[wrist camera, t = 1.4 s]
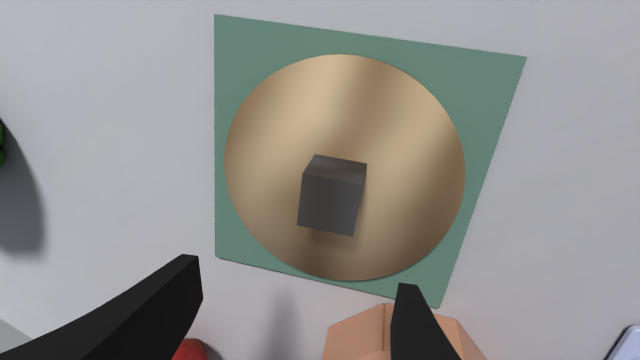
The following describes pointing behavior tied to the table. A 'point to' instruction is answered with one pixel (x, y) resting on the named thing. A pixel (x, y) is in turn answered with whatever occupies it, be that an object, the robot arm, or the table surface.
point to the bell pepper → (0, 155)
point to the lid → (344, 167)
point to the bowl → (385, 337)
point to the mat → (411, 57)
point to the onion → (190, 351)
